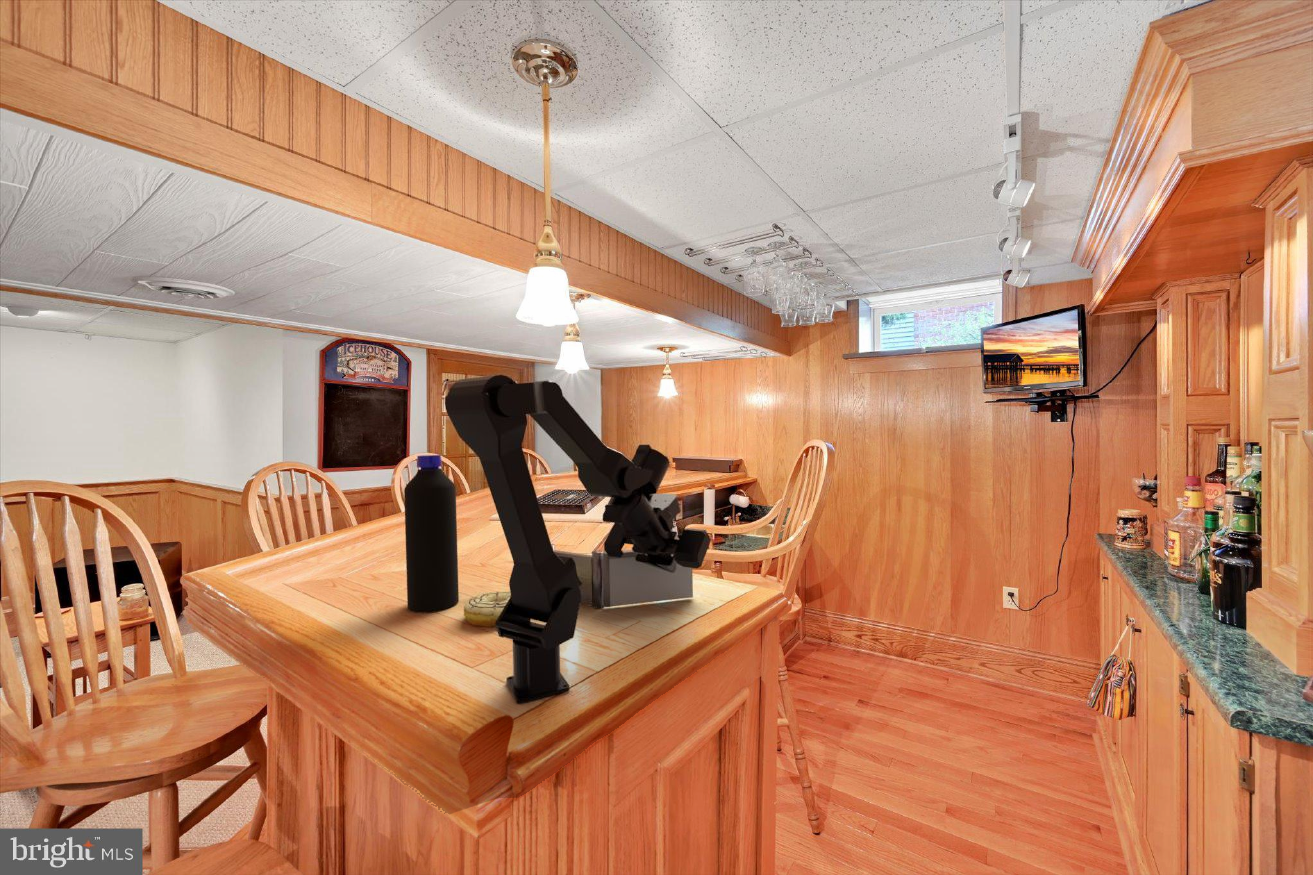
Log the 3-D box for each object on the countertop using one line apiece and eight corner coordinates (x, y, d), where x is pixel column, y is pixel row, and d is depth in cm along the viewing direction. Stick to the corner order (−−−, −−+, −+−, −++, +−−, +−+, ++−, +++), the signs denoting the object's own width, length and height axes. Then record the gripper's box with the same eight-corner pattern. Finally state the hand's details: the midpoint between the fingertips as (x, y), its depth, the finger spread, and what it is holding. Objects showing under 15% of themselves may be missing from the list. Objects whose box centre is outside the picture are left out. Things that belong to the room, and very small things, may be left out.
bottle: (447, 612, 93) (442, 456, 92) (398, 613, 93) (393, 457, 93) (465, 596, 102) (462, 453, 101) (421, 597, 102) (417, 454, 101)
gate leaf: (604, 607, 92) (603, 554, 92) (602, 604, 94) (601, 552, 94) (693, 597, 97) (692, 546, 97) (690, 595, 98) (689, 544, 98)
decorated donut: (526, 627, 86) (526, 604, 86) (458, 632, 84) (457, 609, 84) (530, 606, 96) (530, 585, 96) (469, 610, 94) (469, 589, 94)
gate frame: (542, 597, 100) (541, 545, 100) (550, 594, 102) (549, 543, 102) (599, 609, 93) (598, 553, 93) (606, 605, 95) (605, 551, 94)
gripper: (704, 481, 84) (734, 537, 93) (612, 477, 94) (647, 529, 103) (681, 538, 77) (715, 593, 86) (584, 528, 87) (624, 578, 96)
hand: (673, 570), depth 93 cm, fingers closed
